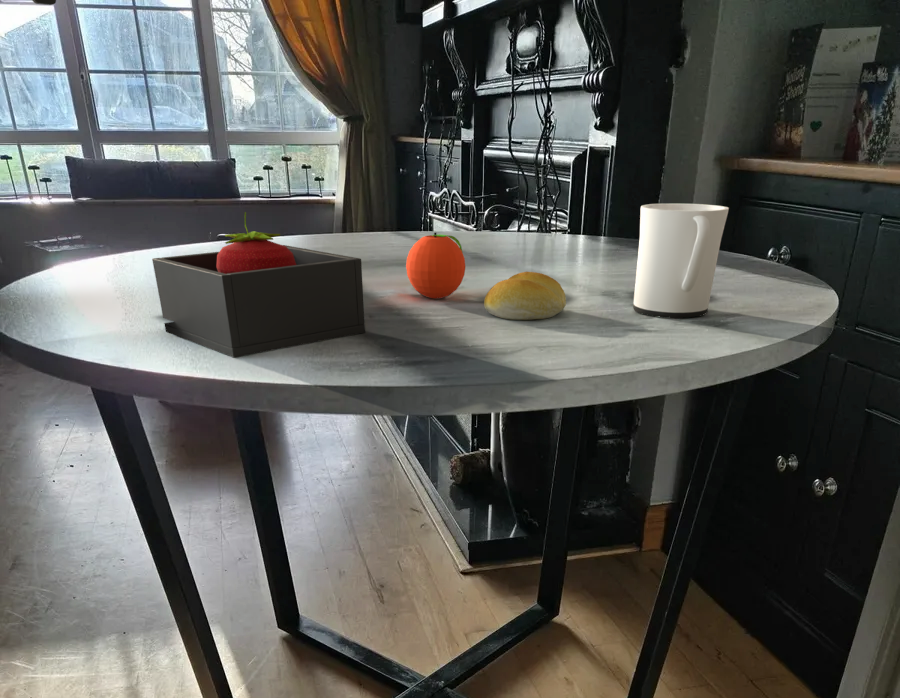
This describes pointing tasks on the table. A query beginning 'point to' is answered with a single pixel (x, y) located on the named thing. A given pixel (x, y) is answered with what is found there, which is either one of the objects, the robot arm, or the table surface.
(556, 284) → the bread roll
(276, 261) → the strawberry
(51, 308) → the table surface
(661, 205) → the mug
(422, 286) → the clementine
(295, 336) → the open box
